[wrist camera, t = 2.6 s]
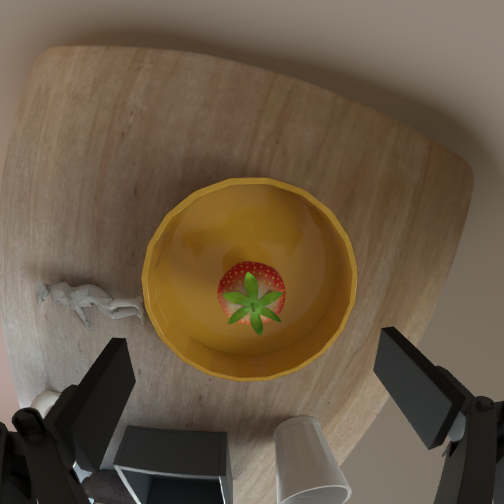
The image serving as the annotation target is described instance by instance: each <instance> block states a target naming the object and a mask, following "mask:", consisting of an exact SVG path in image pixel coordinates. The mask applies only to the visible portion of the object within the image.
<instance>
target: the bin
mask: <svg viewBox="0 0 504 504" xmlns="http://www.w3.org/2000/svg"><path fill="white" fill-rule="evenodd" d="M113 466H114V468H115V469H116V471H117V473H118V474H119V476H120V478H121V479H122V481H123V483H124V484H125V486H126V488H127V489H128V491H129V492H130V494H131V495H132V497H133V498H134V500H135V501H136V503H137V504H233V482H232V473H231V465H230V457H229V448H228V438H227V432H191V431H175V430H162V429H152V428H143V427H135V426H127V428H126V431H125V433H124V436H123V438H122V441H121V443H120V446H119V449H118V451H117V454H116V456H115V459H114V462H113Z"/></svg>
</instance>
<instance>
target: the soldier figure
mask: <svg viewBox="0 0 504 504" xmlns="http://www.w3.org/2000/svg"><path fill="white" fill-rule="evenodd" d="M49 293H50V295H51V298H52V299H53V301H54V302H55V303H56V304H57V303H59V304H60V305H62V306H65V307H71V309H73V310H75V311H76V312H77V314H78V316H79V317H80V319H81V321H82V322H83V324H84V325H85V327H86V328H87V329H89V330H90V331H93V330H92V329H91V328H89V324H90V325H92V324H91V323H89V322H87V321H86V316H85V314H84V312H83V310H82V308H81V307H91V306H92V303H93V304H95V305H96V306H97V308H98V309H99V310H100V311H101V312H102V313H103V314H105V315H106V316H108V317H109V318H111V319H120V318H123V317H126V316H131V315H137V316H138V317H139V318H140V320H141V325H142V326H144V323H145V316H144V306H143V297H142V296H141V297H140V296H138V297H136V298H115V299H114V298H112V297H111V296H110V295H109V294H108V293H106V292H105V291H104V290H103V289H102V288H99V287H98V286H96V285H92V284H87V285H81V286H78V287H73V286H71V285H68V284H67V283H66V282H60V283H56V284H54V285H53V287H52V288H51V290H50V285H49V284H44V283H43V282H42V280H41V278H40V279H39V282H38V283H37V286H36V301H37V304H38V307H40V306H41V304H42V303H43V302H44V301H47V296H48V294H49ZM125 306H134V307H125ZM117 307H125V308H119V309H117ZM116 309H117V310H116Z"/></svg>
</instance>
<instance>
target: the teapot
mask: <svg viewBox="0 0 504 504" xmlns="http://www.w3.org/2000/svg"><path fill="white" fill-rule="evenodd" d="M81 485H82V487H83V489H84V491H85V493H86V495H87V497H88V498H92V499H94V503H93V504H137V503H136V501H135V500H134V498H133V497H132V495H131V494H130V492H129V491H128V489H127V488H126V486H125V484H124V483H123V481H122V479H121V478H120V476H119V474H118V473H117V471H114V470H107V469H100V470H98V473H92V474H91V475H90V476H89V477H86V478H85V479H84V480H83V481H82V483H81Z"/></svg>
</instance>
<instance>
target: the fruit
mask: <svg viewBox="0 0 504 504" xmlns="http://www.w3.org/2000/svg"><path fill="white" fill-rule="evenodd" d="M217 293H218V300H219V304H220V306H221V308H222V310H223V311H224V312H225V314H226V315H228V316H229V317H230V319H229V322H228V323H227V324H232V323H235V322H239V323H242V324H247V325H252V327H253V329H254V330H255V332H256V333H257V334H258V335H260V336H261V335H262V333H263V323H266V322H268V321H271V320H275V321H278V322H281V320H280V318H279V317H278V315H279V314H280V312H281V311H282V308H283V306H284V302H285V295H286V292H285V285H284V282H283V279H282V277H281V276H280V274H279V273H278V272H277V271H276V270H275V269H274V268H272V267H271V266H269V265H266V264H263V263H259V262H252V261H245V262H241V263H238V264H236V265H235V266H233V267H232V268H231V269H229V270H228V271H227V272H226V273H225V274H224V276H223V277H222V279H221V280H220V282H219V285H218V289H217ZM281 323H282V322H281Z"/></svg>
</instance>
